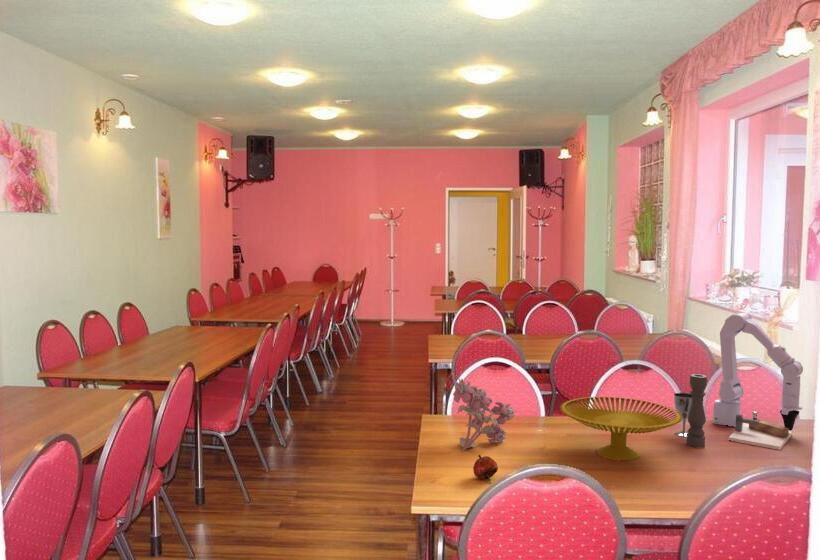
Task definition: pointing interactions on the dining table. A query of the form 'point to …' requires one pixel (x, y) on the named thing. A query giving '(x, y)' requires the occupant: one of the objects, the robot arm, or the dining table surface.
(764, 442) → the white plate
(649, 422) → the pedestal fruit bowl
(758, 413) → the metal pin
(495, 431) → the flower
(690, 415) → the candle holder
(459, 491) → the dining table surface
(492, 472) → the pomegranate
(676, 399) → the wine glass
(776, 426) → the walnut link
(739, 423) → the metal keeper
